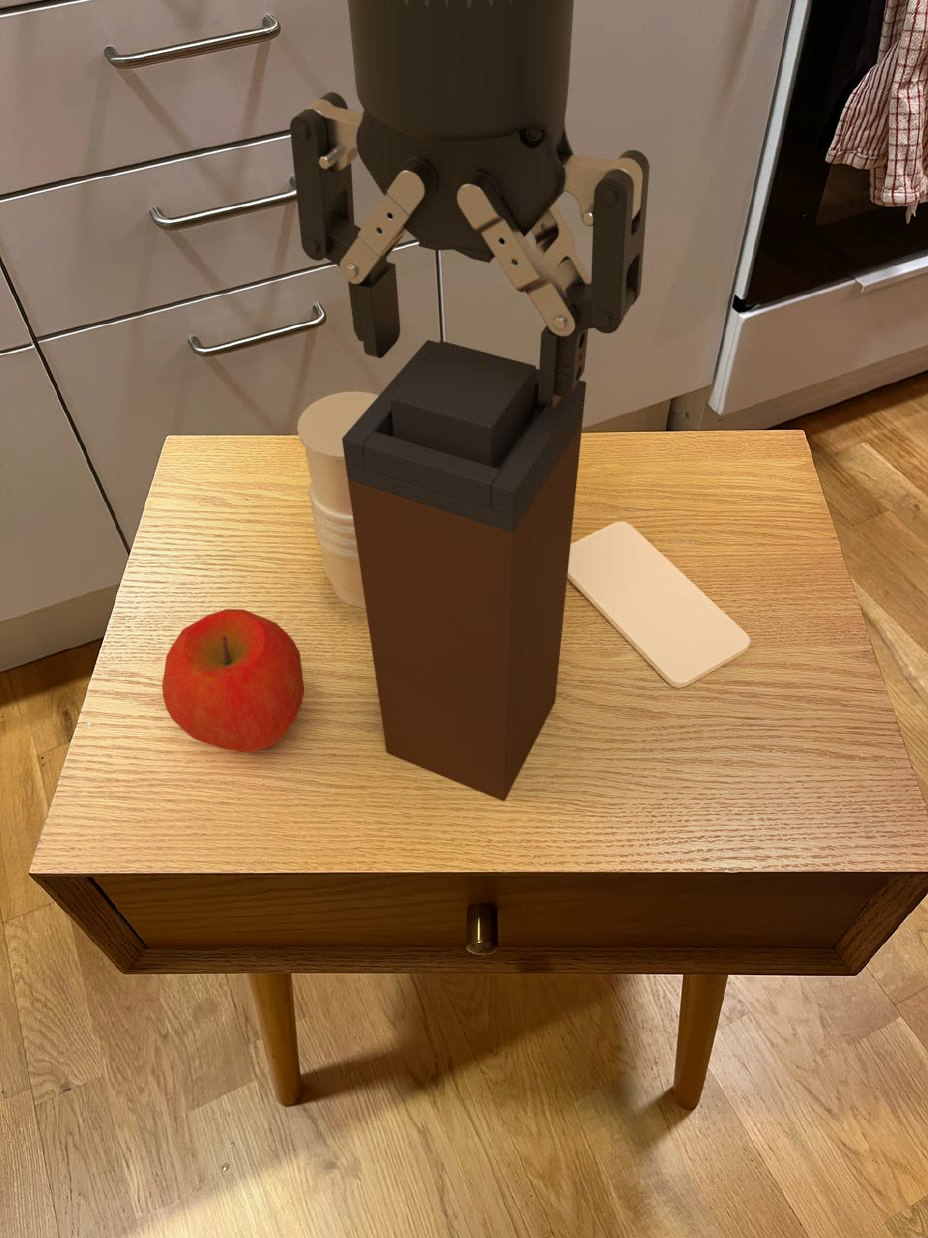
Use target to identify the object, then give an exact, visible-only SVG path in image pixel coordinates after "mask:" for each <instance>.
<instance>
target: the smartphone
mask: <svg viewBox="0 0 928 1238" xmlns="http://www.w3.org/2000/svg"><path fill="white" fill-rule="evenodd" d="M567 580H569V581H570V583H572V584H573V585H574V586H575V588H577V590H579V591H580V593H582V595H583V596H584V597H585V598H586V599H587V600H588V601H589V602H590V603H591V604H592V605H593V607H595V608H596V609H597V611H598V612H600V613H601V615H603V617H604V618H605V619H606V620H607V621H608V623H610V624H611V625H612V626H613V627H614V628H615V630H617V631H618V632H619V634H621V635H622V637H623V638H624V639H625V640H626V641H627V642H628V643H629V644H630V645H631V646H632V647H633V648H634V649H635V650H636V651H637V652H638V653H639V654H640V656H641V657H642V658H644V660H646V662H647V663H648V664H650V666H651V667H652V668H653V669H654V671H656V672H657V673H658V674H659V675H660V676H661V678H662V679H663V680H664V681H665V682H667V683H668V684H669V685H670V686H672V687H674V688H676V689H677V688H679V689H682V688H686V687H687V686H690V685H691V684H693V683H695V682H696V681H698V680H700V679H701V678H704V677H705V676H707V675H708V674H710V673H712V672H714V671H716V670H718V669H719V668H721V667H723V666H725V665H726V664H728V663H729V662H731V661H733V660H735V659H736V658H738V657H739V656H741V655H743V654H744V653H746V652H747V651H748V649H749V648H750V645H751V638H750V636H749V635H748V634H747V632H746V631H744V630H743V629H742V628H741V626H739V625H738V624H737V623H736V622H735V621H734V620H733V619H731V617H730V616H729V615H727V613H726V612H725V611H723V610H722V609H721V608H720V607H719V606H718V605H717V604H716V603H715V602H714V601H713V600H712V599H711V598H710V597H708V596H707V594H705V593H704V592H703V591H702V590H701V589H700V588H699V587H698V586H697V585H695V583H693V582H692V581H691V580H690V579H689V578H688V577H687V576H686V575H685V574H684V573H683V572H682V571H681V570H679V568H678V567H677V566H676V565H674V564H673V563H672V562H671V561H670V560H669V559H668V558H667V557H666V556H665V555H664V554H662V552H660V551H659V550H658V549H657V548H656V547H655V546H654V545H653V544H652V543H651V542H650V541H649V540H647V538H646V537H644V536H643V535H642V534H641V533H640V532H639V530H637V529H636V528H635V527H634V526H633V525H632V524H630V523H629V522H626V521H622V520H621V521H616V522H613V523H611V524H609V525H606V526H604V527H602V528H601V529H599V530H597V531H594V532H593V533H590V534H589V535H586V536H584V537H582V538H580V539H578V540H575V541H574V542H571V545H570V556H569V566H568V576H567Z"/></svg>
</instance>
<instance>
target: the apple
mask: <svg viewBox="0 0 928 1238" xmlns="http://www.w3.org/2000/svg"><path fill="white" fill-rule="evenodd" d="M163 671H164V673H163V677H162V684H161V691H162V698H163V702H164V706H165V710H166V711H167V713H168V715H169V716H170V718H171V720H172V721H173V722H174V723H176V725H177V726H178V727H179V728H180V729H181V730H182V731H184V732H185V733H186V734H188V735H189V736H190V737H191V738H192V739H195V740H197V741H199V742H201V743H203V744H207V745H210V746H213V747H215V748H218V749H223V750H227V751H231V752H232V751H233V752H239V753H240V752H241V753H247V752H255V751H259V750H260V751H261V750H264V749H266V748H269V747H271V746H273V745H274V744H275V743H277V742H278V741H279V740H280V739H281V738H283V737H284V736H285V734H287V732H288V731H289V729H290V727H291V726H292V725H293V723H294V721H295V719H296V717H297V715H298V713H299V711H300V708H301V706H302V702H303V698H304V694H305V686H304V677H303V667H302V660H301V652H300V651H299V648H298V646H297V645H296V643H295V641H294V640H293V638H292V637H291V636H290V634H289V633H288V632H287V631H285V629H283V628H282V626H280V624H278V623H277V622H274V621H272V620H270V619H268V618H265V617H263V616H261V615H259V614H256V613H253V612H250V611H248V610H246V609H241V608H239V609H238V608H226V609H223V610H220V611H216V612H212V613H209V614H207V615H206V616H204V617H202V618H200V619H199V620H197V621H195V622H193V623H192V624H190V625H188V626H186V627H184V628H183V629H182V630H181V631H180V633H179V634H178V636H177V638H176V639H175V640H174V641H173V643H172V645H171V647H170V648H169V651H168V652H167V654H166V657H165V664H164V670H163Z"/></svg>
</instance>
